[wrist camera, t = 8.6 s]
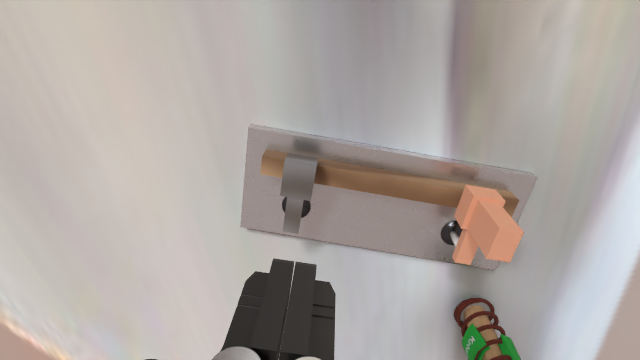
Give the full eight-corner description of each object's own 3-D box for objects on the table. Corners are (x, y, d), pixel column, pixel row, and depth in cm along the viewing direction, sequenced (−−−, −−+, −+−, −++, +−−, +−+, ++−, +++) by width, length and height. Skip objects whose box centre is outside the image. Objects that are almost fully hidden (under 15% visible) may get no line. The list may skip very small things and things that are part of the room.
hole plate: (251, 124, 38) (248, 127, 36) (531, 173, 38) (537, 177, 37) (243, 221, 43) (240, 227, 41) (491, 263, 43) (495, 270, 42)
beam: (266, 141, 37) (257, 156, 33) (513, 184, 37) (534, 204, 33) (260, 205, 40) (250, 226, 36) (487, 244, 41) (503, 269, 37)
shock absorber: (453, 284, 45) (502, 402, 31) (504, 291, 45) (576, 412, 31) (440, 322, 47) (479, 446, 34) (488, 329, 47) (547, 456, 34)
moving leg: (459, 176, 37) (494, 223, 28) (488, 181, 37) (531, 230, 28) (438, 238, 40) (463, 296, 32) (464, 242, 40) (496, 302, 32)
